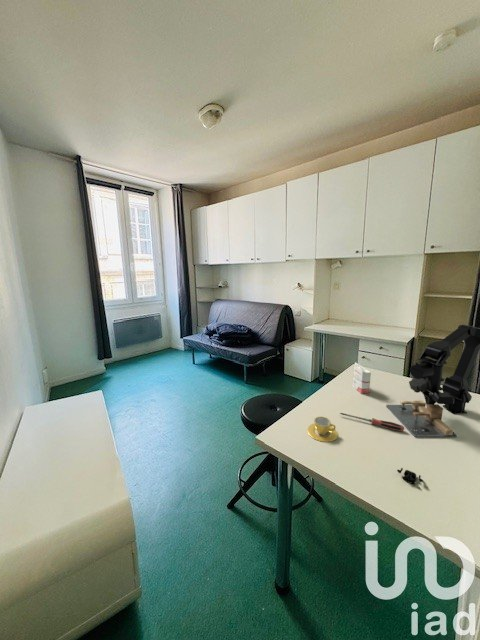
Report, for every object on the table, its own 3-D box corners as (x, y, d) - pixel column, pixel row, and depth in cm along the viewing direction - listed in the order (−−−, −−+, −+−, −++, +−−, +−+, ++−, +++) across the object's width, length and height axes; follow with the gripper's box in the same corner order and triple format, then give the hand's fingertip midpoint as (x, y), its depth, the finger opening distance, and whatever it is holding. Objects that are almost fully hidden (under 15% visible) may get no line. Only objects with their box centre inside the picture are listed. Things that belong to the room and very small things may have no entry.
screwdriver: (339, 417, 115) (339, 411, 115) (340, 414, 118) (340, 408, 117) (404, 434, 103) (404, 427, 103) (403, 430, 106) (404, 423, 105)
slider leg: (436, 418, 110) (438, 404, 109) (441, 422, 107) (443, 408, 106) (411, 418, 111) (412, 404, 110) (415, 422, 108) (417, 408, 107)
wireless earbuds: (424, 476, 82) (423, 481, 78) (423, 483, 82) (421, 489, 78) (398, 465, 86) (396, 470, 82) (397, 473, 86) (395, 478, 82)
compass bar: (419, 404, 121) (420, 398, 121) (455, 434, 100) (456, 427, 99) (396, 404, 122) (397, 398, 121) (427, 434, 101) (428, 427, 100)
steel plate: (420, 406, 122) (421, 404, 121) (456, 437, 100) (457, 434, 100) (386, 406, 123) (386, 404, 122) (414, 437, 101) (414, 434, 101)
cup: (305, 439, 103) (305, 427, 101) (309, 421, 114) (309, 410, 112) (337, 445, 98) (338, 433, 97) (338, 427, 109) (338, 415, 108)
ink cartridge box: (369, 393, 136) (372, 367, 132) (361, 393, 135) (362, 367, 132) (360, 385, 144) (362, 361, 141) (352, 386, 143) (353, 361, 140)
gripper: (401, 365, 118) (397, 396, 121) (427, 384, 100) (422, 420, 103) (426, 365, 117) (422, 396, 121) (457, 384, 99) (452, 420, 102)
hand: (428, 407), depth 112 cm, fingers closed
